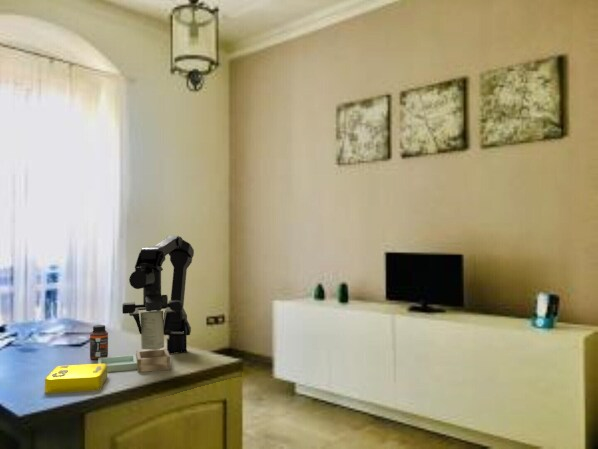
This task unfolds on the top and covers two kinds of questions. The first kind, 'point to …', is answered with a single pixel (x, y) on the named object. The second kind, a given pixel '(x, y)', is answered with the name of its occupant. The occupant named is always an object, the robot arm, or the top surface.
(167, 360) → the frame
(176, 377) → the top surface
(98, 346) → the supplement bottle
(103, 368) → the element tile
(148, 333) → the skincare box
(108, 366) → the tray
